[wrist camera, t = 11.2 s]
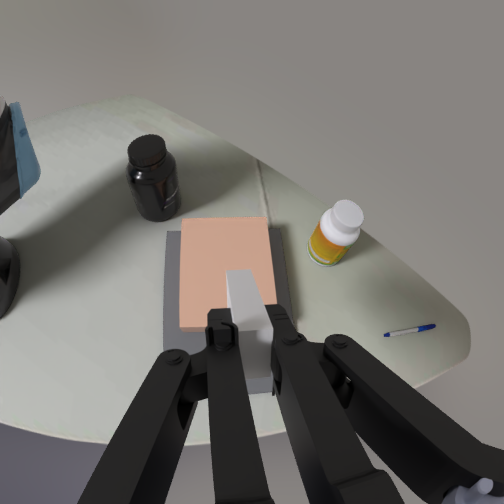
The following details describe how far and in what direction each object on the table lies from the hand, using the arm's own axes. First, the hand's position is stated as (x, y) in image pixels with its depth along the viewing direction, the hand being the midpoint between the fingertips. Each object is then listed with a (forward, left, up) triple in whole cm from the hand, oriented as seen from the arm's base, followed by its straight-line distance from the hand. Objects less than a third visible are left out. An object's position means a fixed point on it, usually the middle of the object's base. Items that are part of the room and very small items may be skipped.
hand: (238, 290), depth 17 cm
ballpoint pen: (+22, +15, -18) cm, 32 cm away
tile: (-1, 0, -15) cm, 15 cm away
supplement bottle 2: (+3, +18, -18) cm, 26 cm away
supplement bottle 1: (-20, +9, -18) cm, 28 cm away
